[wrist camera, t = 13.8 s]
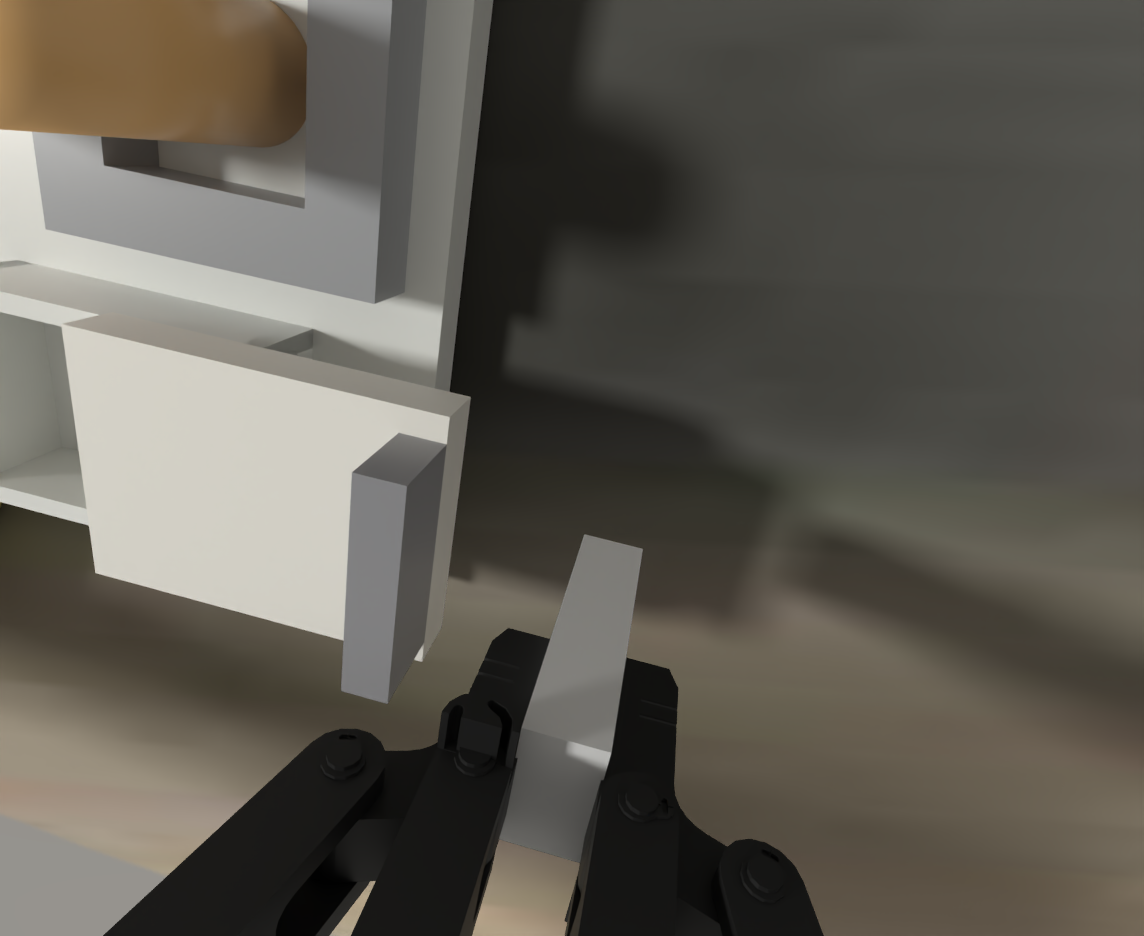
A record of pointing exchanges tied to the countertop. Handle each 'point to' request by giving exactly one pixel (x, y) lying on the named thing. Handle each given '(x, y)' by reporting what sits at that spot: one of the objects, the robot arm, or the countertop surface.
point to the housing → (252, 228)
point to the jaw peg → (153, 70)
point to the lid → (270, 485)
